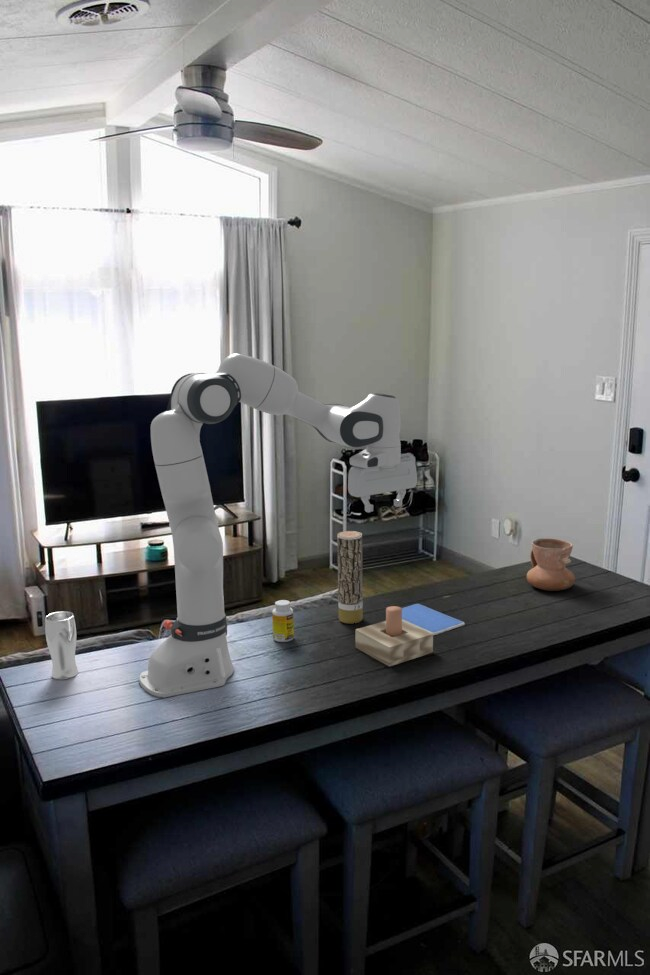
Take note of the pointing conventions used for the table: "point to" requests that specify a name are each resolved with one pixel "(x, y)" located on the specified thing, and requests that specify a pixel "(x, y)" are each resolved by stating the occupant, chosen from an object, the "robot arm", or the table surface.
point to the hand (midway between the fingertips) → (383, 508)
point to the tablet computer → (429, 619)
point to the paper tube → (350, 577)
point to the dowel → (393, 621)
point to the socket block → (394, 643)
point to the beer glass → (61, 644)
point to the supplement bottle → (283, 621)
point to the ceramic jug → (550, 565)
